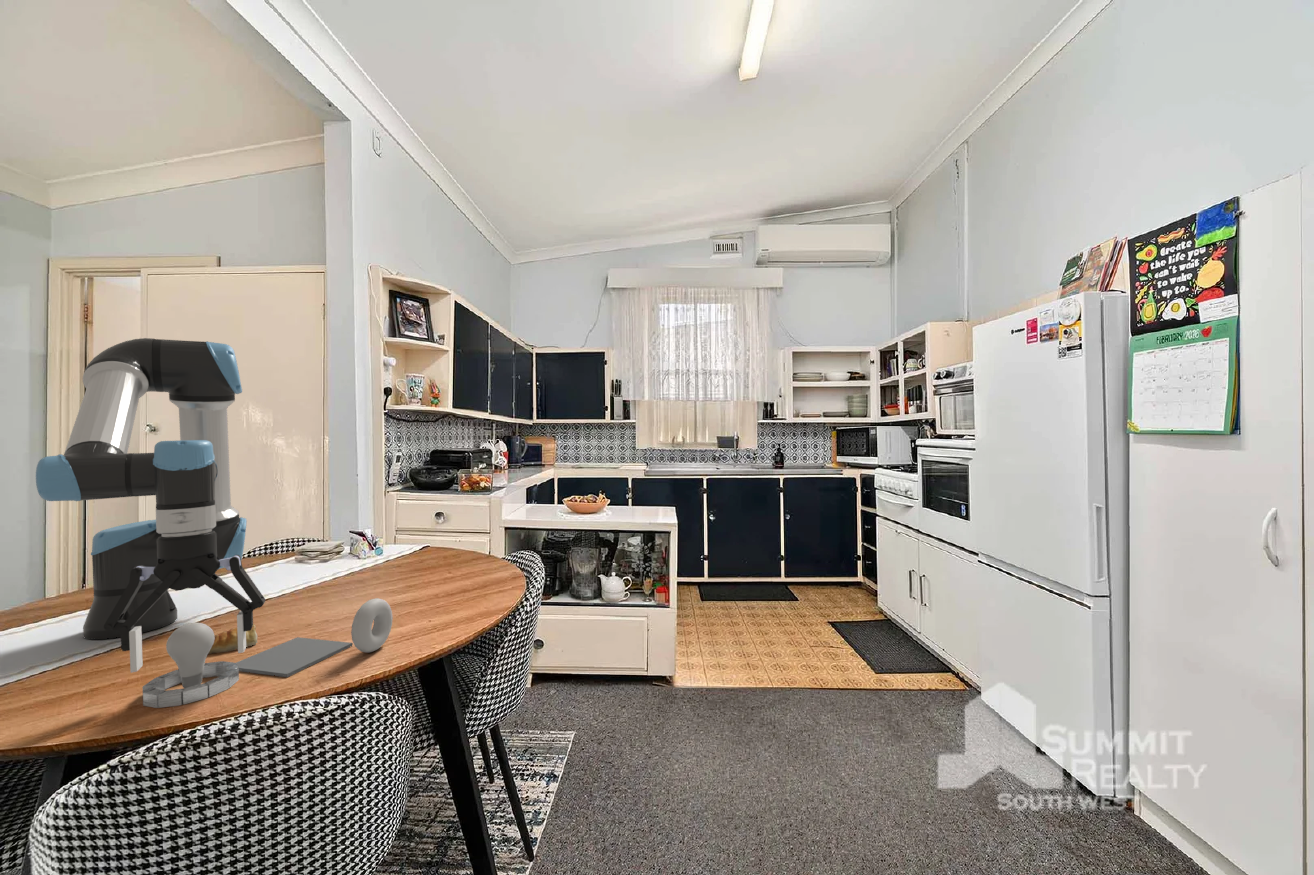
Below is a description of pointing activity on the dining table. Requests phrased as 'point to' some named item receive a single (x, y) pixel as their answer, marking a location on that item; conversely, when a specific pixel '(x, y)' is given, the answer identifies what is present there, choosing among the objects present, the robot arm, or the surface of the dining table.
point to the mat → (291, 656)
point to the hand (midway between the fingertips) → (191, 659)
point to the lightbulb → (190, 651)
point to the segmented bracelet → (165, 698)
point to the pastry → (232, 640)
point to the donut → (363, 624)
